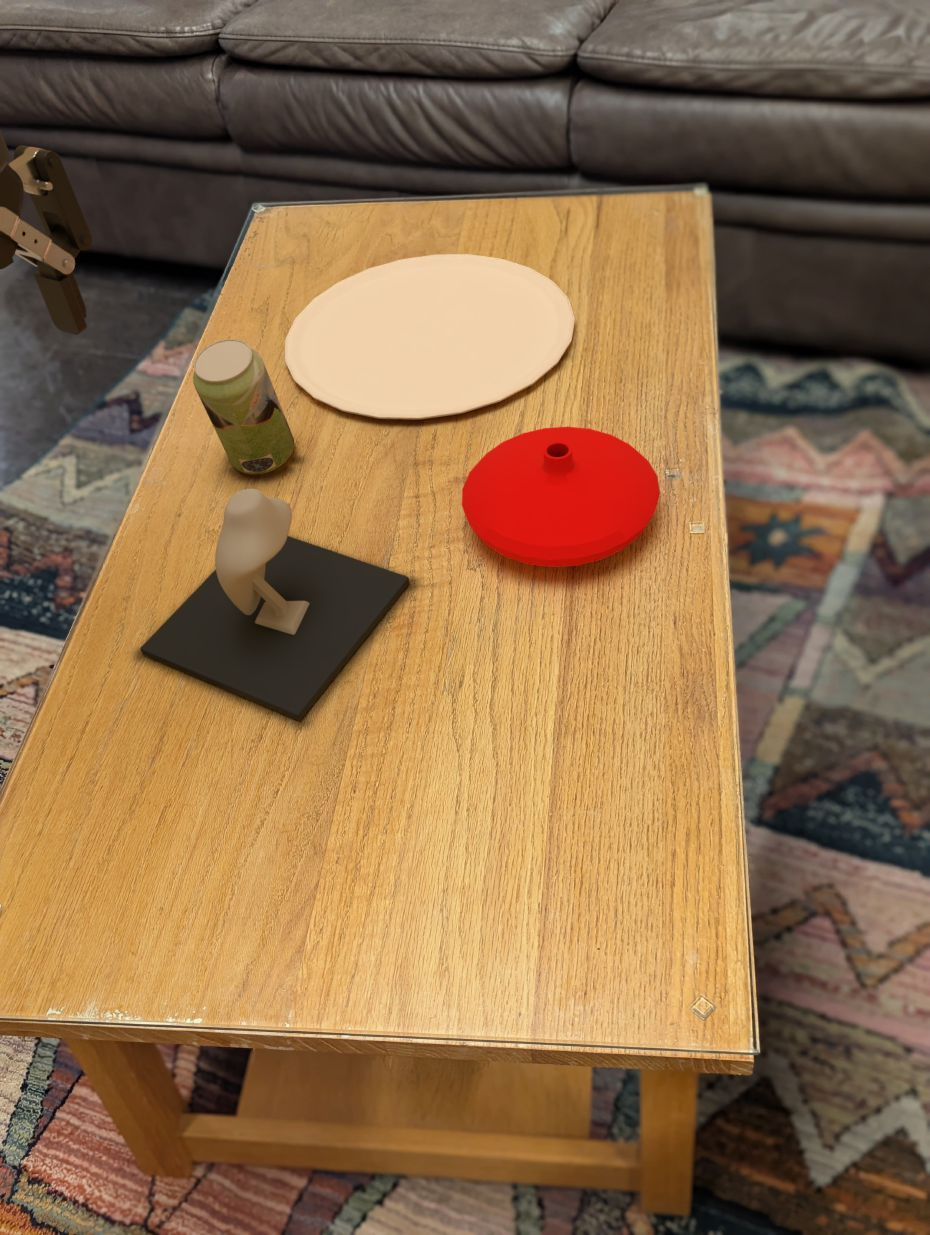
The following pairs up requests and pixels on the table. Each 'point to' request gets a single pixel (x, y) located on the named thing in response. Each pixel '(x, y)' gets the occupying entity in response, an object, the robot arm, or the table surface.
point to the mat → (268, 658)
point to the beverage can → (243, 406)
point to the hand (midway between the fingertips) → (22, 365)
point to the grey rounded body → (256, 557)
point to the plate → (429, 336)
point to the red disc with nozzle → (560, 496)
